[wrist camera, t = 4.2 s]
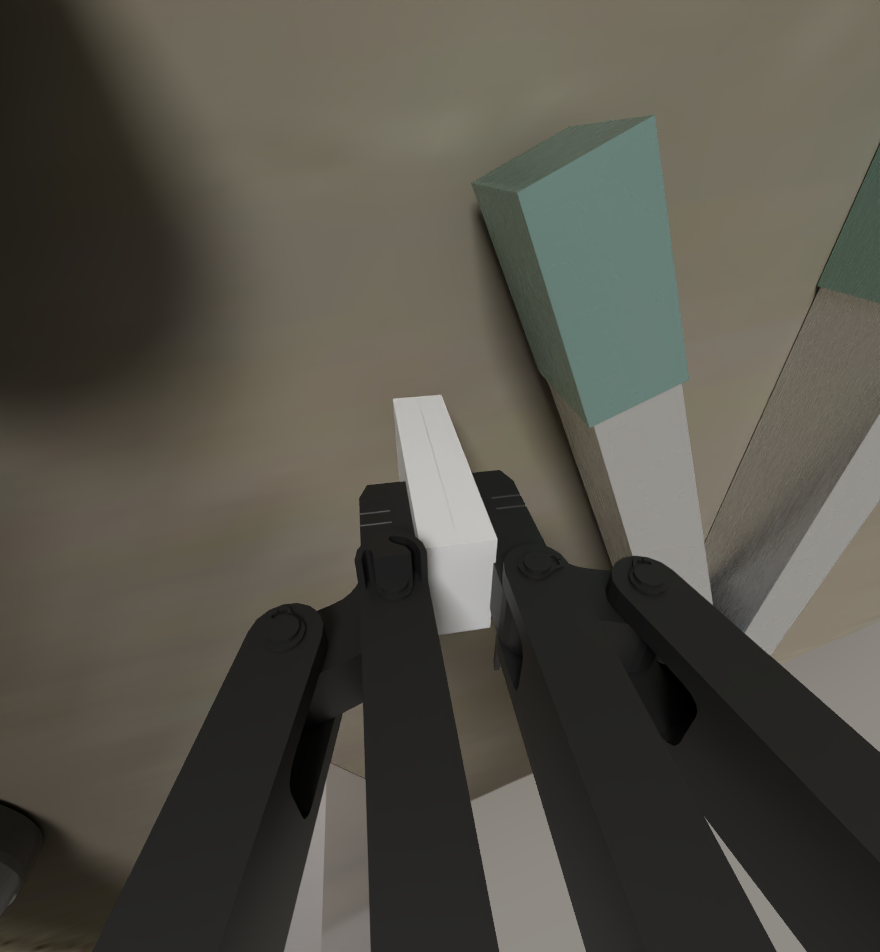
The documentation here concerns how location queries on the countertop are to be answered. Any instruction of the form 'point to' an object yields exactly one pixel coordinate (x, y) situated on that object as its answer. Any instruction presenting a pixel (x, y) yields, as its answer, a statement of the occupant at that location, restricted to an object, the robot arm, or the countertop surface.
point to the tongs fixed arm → (809, 447)
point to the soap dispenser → (335, 873)
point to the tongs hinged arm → (606, 327)
